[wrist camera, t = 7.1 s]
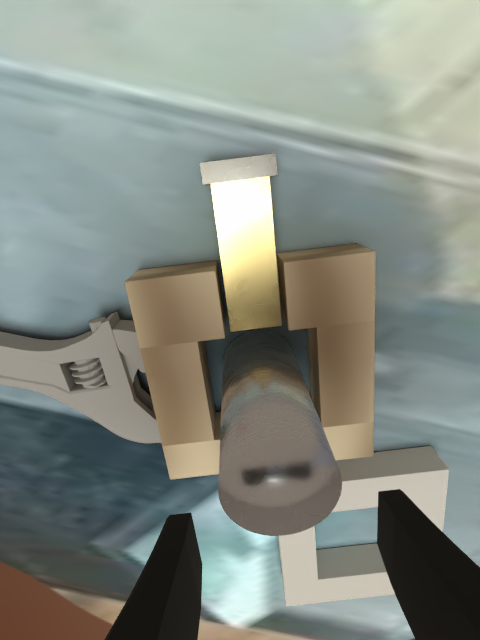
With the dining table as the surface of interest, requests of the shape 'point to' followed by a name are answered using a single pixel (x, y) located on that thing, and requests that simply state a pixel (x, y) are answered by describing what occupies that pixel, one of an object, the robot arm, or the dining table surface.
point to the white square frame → (365, 560)
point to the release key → (246, 238)
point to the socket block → (299, 313)
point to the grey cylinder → (272, 441)
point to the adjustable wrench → (87, 375)
